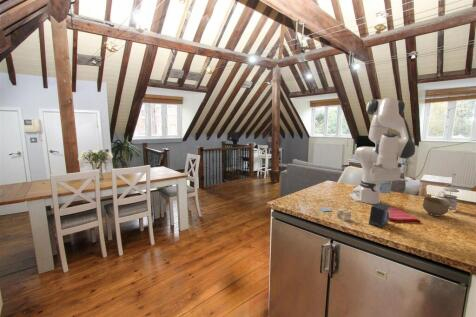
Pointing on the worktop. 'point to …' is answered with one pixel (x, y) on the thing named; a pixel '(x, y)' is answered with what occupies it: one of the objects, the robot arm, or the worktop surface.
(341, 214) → the maple block
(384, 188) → the grey cube
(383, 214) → the small box
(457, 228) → the worktop surface
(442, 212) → the bowl
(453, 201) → the french press
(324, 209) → the tile
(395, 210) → the dish towel
